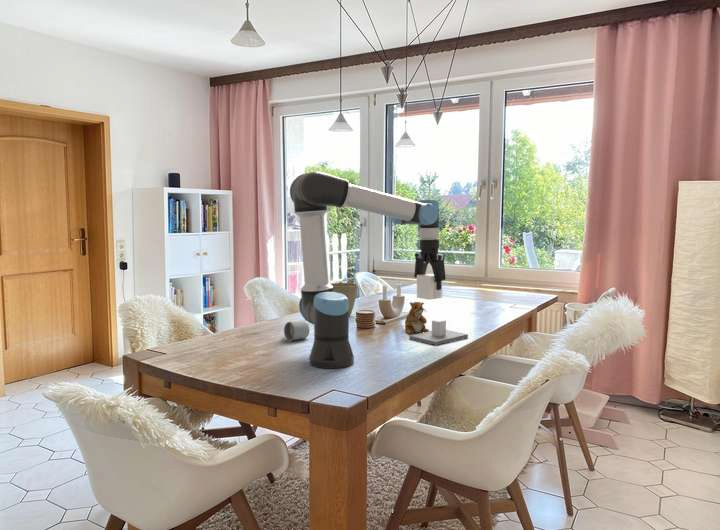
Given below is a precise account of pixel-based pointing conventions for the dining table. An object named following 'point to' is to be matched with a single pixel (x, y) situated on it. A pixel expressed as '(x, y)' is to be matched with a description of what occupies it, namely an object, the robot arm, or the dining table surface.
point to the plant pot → (347, 292)
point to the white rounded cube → (426, 286)
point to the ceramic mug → (296, 330)
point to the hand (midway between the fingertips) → (429, 296)
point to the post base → (436, 338)
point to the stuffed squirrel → (415, 319)
